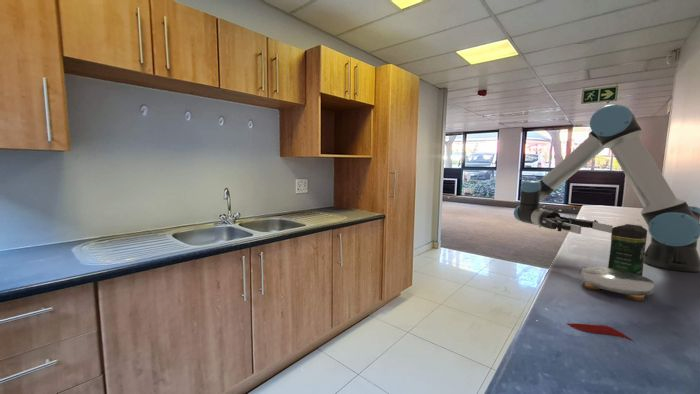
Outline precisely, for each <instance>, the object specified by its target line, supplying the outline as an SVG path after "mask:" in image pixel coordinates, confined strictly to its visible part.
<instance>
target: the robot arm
mask: <svg viewBox="0 0 700 394" xmlns="http://www.w3.org/2000/svg"><path fill="white" fill-rule="evenodd" d="M589 127H590V130H591V131H590V132H589V133H588V137H587V138H586V139H585V140H584V141H583V142H581V144H579V145H578V146H577V147H575V149H574V150H573V151H571V153H569V154H568V155H566V157H565V158H564V159H562V160H561V161H560V162H559V163H558V164H557V165H555V166H554V167H553V168H552V169H551V170H550V171H549V172H548V173H547V174H545V176H543V177H542V178H541V179H540V180H539V181H538V180H524V181H522V183H521V187H520V202H519V205H518V206H516V207H515V208H514V210H513V216H514V218H515V219H516V220H517V221H519V222H521V223H523V224H524V223H526V224H531V225H534V226H538V228H546V229H549V230H557V232H562V231H565V232H569V233H573V234H580V235H581V234H582V228H586V229H587V228H588V229H592V230H596V231H599V232H600V231H601V232H605V233H609V234H610V233H612V228H613V227H614V225H611V224H606V223H602V222H599V221H597V220H596V219H594V220H588V219H580V218H572V217H567V216H566V217H565V216H561V214H560V213H559V212H557V211H554V210H549V209H544V208H540V201H543V200H546V199H548V198H549V197H550V196H551V194H552V193H553V192H554V191H556V190H557V189H558V188H559V187H560V186H562V185H563V183H565V182H566V181H568V180H569V179H570V178H571V177H572V176H574V175H575V174H576V173H577V172H578V171H580V170H581V169H582V168H583V167H584V166H585V165H586V164H588V163H589V162H590V161H592V160H593V159H594V158H596V156H597V155H599V153H601V152H602V151H603V150H604V149H610V151H611V152H612V154H613V156H614V158H615V160H616V161H617V163H618V165H619V166H620V168H621V171H622V172H623V174H624V175H625V177H626V179H627V180H628V183H629V185H630V186H631V187H632V189H633V191H634V193H635V194H636V197H637V198H638V199H639V201H640V204H641V205H642V207H643V208H642V210H641V211H640V214H641V216H642V218H643V219H644V221H645V223H646V225H647V227H648V229H647V230H648V233H649V235H650V236H651V238H650V243H649V245H648V246H647V249H645V254H644V263H645V264H646V265H649V264H650V266H653V267H657V268H661V269H666V270H672V271H678V272H688V273H700V256H699V252H698V249H697V247H698V239H699V238H700V208H699V207H697V206H690V205H689V204H688V203H687V202H686V200H684V199H679V198H677V197H676V195H675V193H674V191H673V190H672V189H671V187H670V185H669V184H668V182H667V180H666V179H665V177H664V176H663V175H664V174H662V172H661V170H660V168H659V166H658V165H657V164H656V162H655V160H654V159H653V157H652V155H651V153H650V152H649V151H648V149H647V147H646V145H645V144H644V142H643V141H642V139H641V135H642V133H643V130H642V128H641V126H640V125H639V123H638V122H637V120H636V117H635V114H634V113H633V112H632V111H631V109H630V108H629V107H627V106H625V105H623V104H618V103H617V104H616V103H615V104H613V103H611V104H607V105H603V106H602V107H600V108H598V109H597V110H596V111H594V113H593V114H592V116H591V118H590V120H589Z"/></svg>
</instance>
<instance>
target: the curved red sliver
mask: <svg viewBox="0 0 700 394" xmlns="http://www.w3.org/2000/svg"><path fill="white" fill-rule="evenodd" d="M566 325H568V326H570V327H571V328H573V329H576V330H579V331H582V332H587V333H593V334H599V335H602V334H603V335H610V336H615V337H619V338H622V339H624V338H625V339H627V340H629V341H632V342H633V341H634V340H633V339H632V338H630V336H628V335H626V334H624V333H623V332H621V331H619V330H617V329H615V328H614V327H611V326H608V325H605V324H604V325H603V324H602V325H601V324H587V323H567V322H566Z"/></svg>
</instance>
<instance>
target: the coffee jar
mask: <svg viewBox="0 0 700 394" xmlns="http://www.w3.org/2000/svg"><path fill="white" fill-rule="evenodd" d="M647 235H648V229H646V228H644V227H643V226H642V225H638V224H631V223H630V224H629V223H626V224H622V225H617V226H613V228H612V233H611V236H610V247H609V248H610V249H609V259H608V265H607V268H611V269H617V270H622V271H627V272H631V273H634V274H638V275H641V276H643V271H644V263H645V262H644V254H645V251H646V243H647V237H648V236H647Z"/></svg>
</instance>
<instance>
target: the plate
mask: <svg viewBox="0 0 700 394" xmlns="http://www.w3.org/2000/svg"><path fill="white" fill-rule="evenodd" d="M580 279H581V281H583V282H584V288H586V289H589V290H590V291H592V290H593V291H600V289H601V290H605V291H607V292H612V293H617V294H623V295H626V296H625V297H626V298H628V299H630V300H632V301H637V302H644V301H645V296H649V295H653V294H654V288H655V287H654V286H655V284H654V283H655V282H654V281H653V280H651V279H650V278H648V277H646V276H644V275H642V276H641V275H638V274H634V273H631V272H627V271H622V270H617V269H611V268H608V267H601V266H587V267H583V268H582V269H581V274H580Z"/></svg>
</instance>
